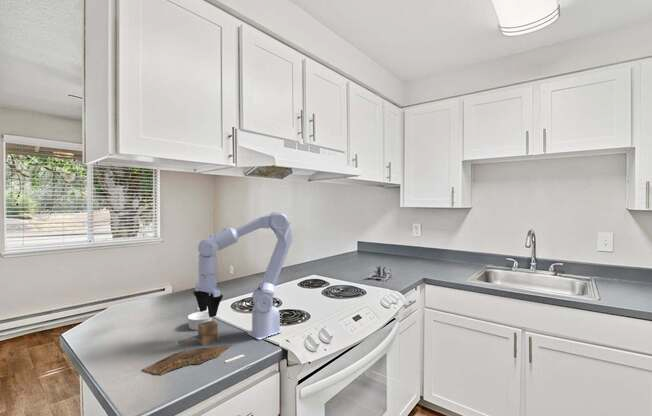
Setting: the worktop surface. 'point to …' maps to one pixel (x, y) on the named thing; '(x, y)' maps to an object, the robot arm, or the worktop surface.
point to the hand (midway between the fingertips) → (207, 313)
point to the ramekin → (198, 319)
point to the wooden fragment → (185, 359)
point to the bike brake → (378, 271)
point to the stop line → (234, 358)
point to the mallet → (204, 333)
